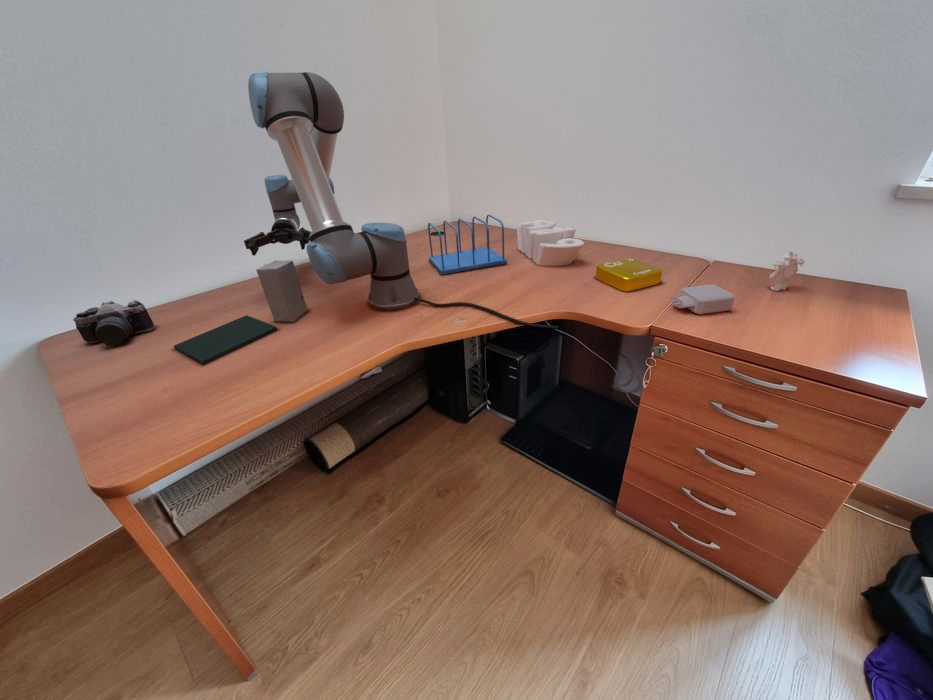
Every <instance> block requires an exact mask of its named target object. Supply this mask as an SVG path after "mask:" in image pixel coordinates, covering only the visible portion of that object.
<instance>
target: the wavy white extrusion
mask: <svg viewBox="0 0 933 700" xmlns="http://www.w3.org/2000/svg"><path fill="white" fill-rule="evenodd" d="M576 231H577V230H576V229H575V228H574V227H570V226H566V227H565V228H562V227H560V226H557V222H556V221H550V220H548V219H539V220H538V219H537V220H531V221H525V222H520V224H518V225H517V226H516V237H517V238H516V239H517V248H518V251H520V252H521V253H522V254H525V256H526V257H527V259H531V260H532V261H533V262H534V263H535V264H536V265H538V266H543V267H559V266H560V267H561V266H568V265H571V264H572V263H573V262H574V260H575V259H576V257H577V255H578V254H579V252H580V251H581V249H582V248H583V246H584V243H585V242H584V241H583V240H581V239H579V238H574V237H575V234H576Z"/></svg>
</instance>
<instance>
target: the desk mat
mask: <svg viewBox="0 0 933 700" xmlns="http://www.w3.org/2000/svg"><path fill="white" fill-rule="evenodd" d="M276 331H278V328H277V326H275V325H273V324H270V323H268V322H264V321H263V320H260V319H257V318H255V317H252V316H249V315H243V316H241V317H239V318H236V319H234V320H231V321H229V322H227V323H225V324H221V325H219V326H217V327H215V328H212V329H210V330H208V331H205V332H202V333H200V334H197V335H195V336H193V337H191V338H189V339H186V340H184V341H181V342H179V343H177V344H174V345H173V348H174V350H176V351H178V352H180V353H182V354H184V355H186V356H187V357H188V358H191V359H192V360H194V361H196V362H197V363H199V364H201V365H206V364H209V363H211V362H213V361H215V360H217V359H219V358H222V357H224V356H226V355H228V354H230V353H232V352H234V351H236V350H238V349H241V348H243V347H245V346H246V345H249V344H251V343H253V342H255V341H258V340H259V339H261V338H264V337H265V336H267V335H270V334H272V333H274V332H276Z"/></svg>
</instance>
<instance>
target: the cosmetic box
mask: <svg viewBox="0 0 933 700" xmlns="http://www.w3.org/2000/svg"><path fill="white" fill-rule="evenodd" d="M294 264H295V263H294V260H290V259H289V260H273V261H271V262H269V263H266V264H263V265H262V266H260V267H258V268H256V269H255V271H256V273H257V276H258V279H259V282H260V285H261V287H262V290H263V292H264V296H265V298H266V301H267V304H268V307H269V310H270V313H271V315H272V318H273V320H274V322H288V323H294V322H296V321H297V320H298V319H299V318H300V317H301V316H303V315H304V314H305V313H306V312H308V311H309V310H308V306H307V303H306V300H305V296H304V293H303V291H302V287H301V284H300V280H299V277H298V274H297V271H296V267H295V265H294Z"/></svg>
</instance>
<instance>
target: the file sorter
mask: <svg viewBox="0 0 933 700" xmlns="http://www.w3.org/2000/svg"><path fill="white" fill-rule="evenodd" d="M489 218H492V219H493V220H495V221H497V222H499V223H500V225H501V237H502V238H501V243H502V246H501V247H502V248H501V249H502V250H501V251H502V252H501V253H502V254H500V253H499V252H497V251H496V250H495V249H493V248H492V247H490V228H489ZM475 219H476V220H477V221H479V222H480V223H482V224H484V225H485V229H486V247H480V248H476V243H475ZM460 222H462V223H464V224H465V225H466V226H468V227H469V229H470V232H471V247H472V248H471V249H468V250H462V241H461V240H462V239H461V228H460V227H461V225H460ZM442 223H443V226H442V227H443V237H444V250H445V253H444V251H443V243H442V242H443V241H442V234H441V231H440V229H439V228H437V227H436V226H435V225H434V224H433V223H432V222H428V223H427V231H428V240H429V247H430V256H429V257H428V258H429V263H431V264H432V265H433V266H434V268H435V269H436V270H437V271H438V272H439V274H440V275H447V274H449V275H450V274H453V273H454V274H455V273H459V272H464V271H472V270H477V269H482V268H487V267H493V266H499V265H505V264H507V263H508V261H507V258H506V257H505V227H504V223H503V221H502V219H501V220H500V219H499V218H497V217H495V216H494V215H491V214H487V215H486V217H485V221H484V220H483V219H481V218H479V217H477V216H473V217H472V221H471V223H472V225H471V224H470V223H469V222H467V221H466V220H464V219H462V218H458V219H457V228H456V226H455V225H453V224H452V223H450V222H449V221H448V220H443V222H442ZM446 224H447V225H448V226H449V227H451V228H452V229H453V230H454V233H455V240H456V251H455V252H450V253H448V248H447V247H448V245H447V236H446ZM431 227H432V228H433V229H434V230H435V231H437V234H438V237H439V246H440V248H439V249H440V254H437V255H434V253H433V252H434V251H433V245H432V237H431V236H432V235H431Z"/></svg>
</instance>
